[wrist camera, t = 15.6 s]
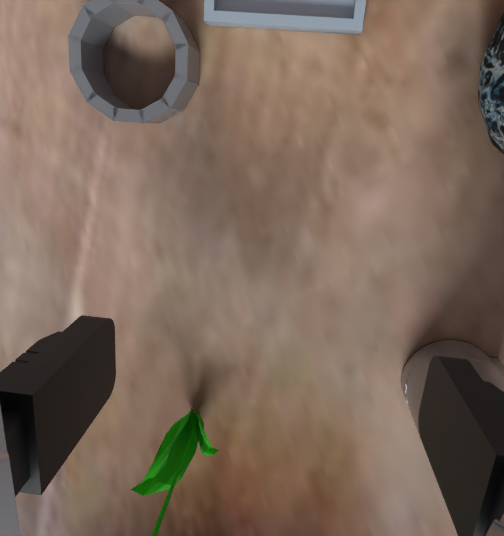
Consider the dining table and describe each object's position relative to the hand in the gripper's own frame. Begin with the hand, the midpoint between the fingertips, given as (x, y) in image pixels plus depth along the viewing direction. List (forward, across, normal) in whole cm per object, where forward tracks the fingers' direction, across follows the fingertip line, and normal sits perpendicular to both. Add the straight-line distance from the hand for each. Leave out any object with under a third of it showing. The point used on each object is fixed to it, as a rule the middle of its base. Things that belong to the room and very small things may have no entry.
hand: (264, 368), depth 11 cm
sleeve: (+33, +14, -10) cm, 37 cm away
